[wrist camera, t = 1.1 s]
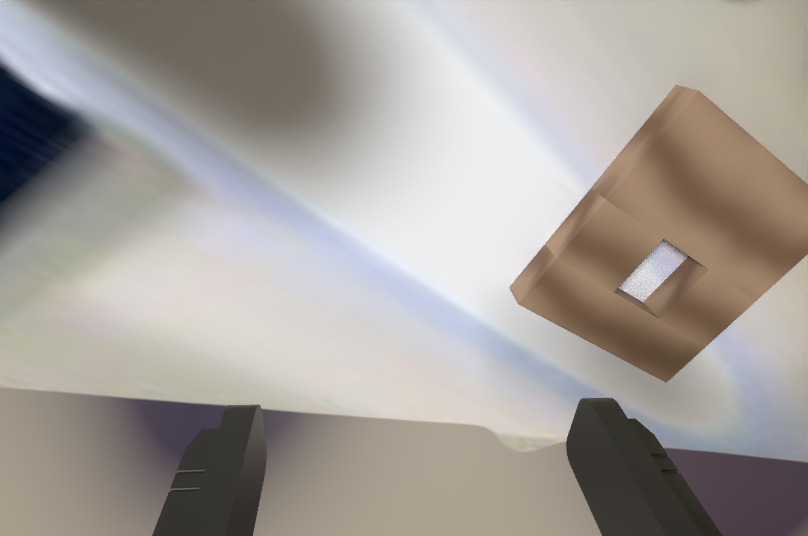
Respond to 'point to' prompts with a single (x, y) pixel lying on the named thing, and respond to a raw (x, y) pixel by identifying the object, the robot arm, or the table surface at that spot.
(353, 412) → the table surface
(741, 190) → the hole plate
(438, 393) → the table surface
